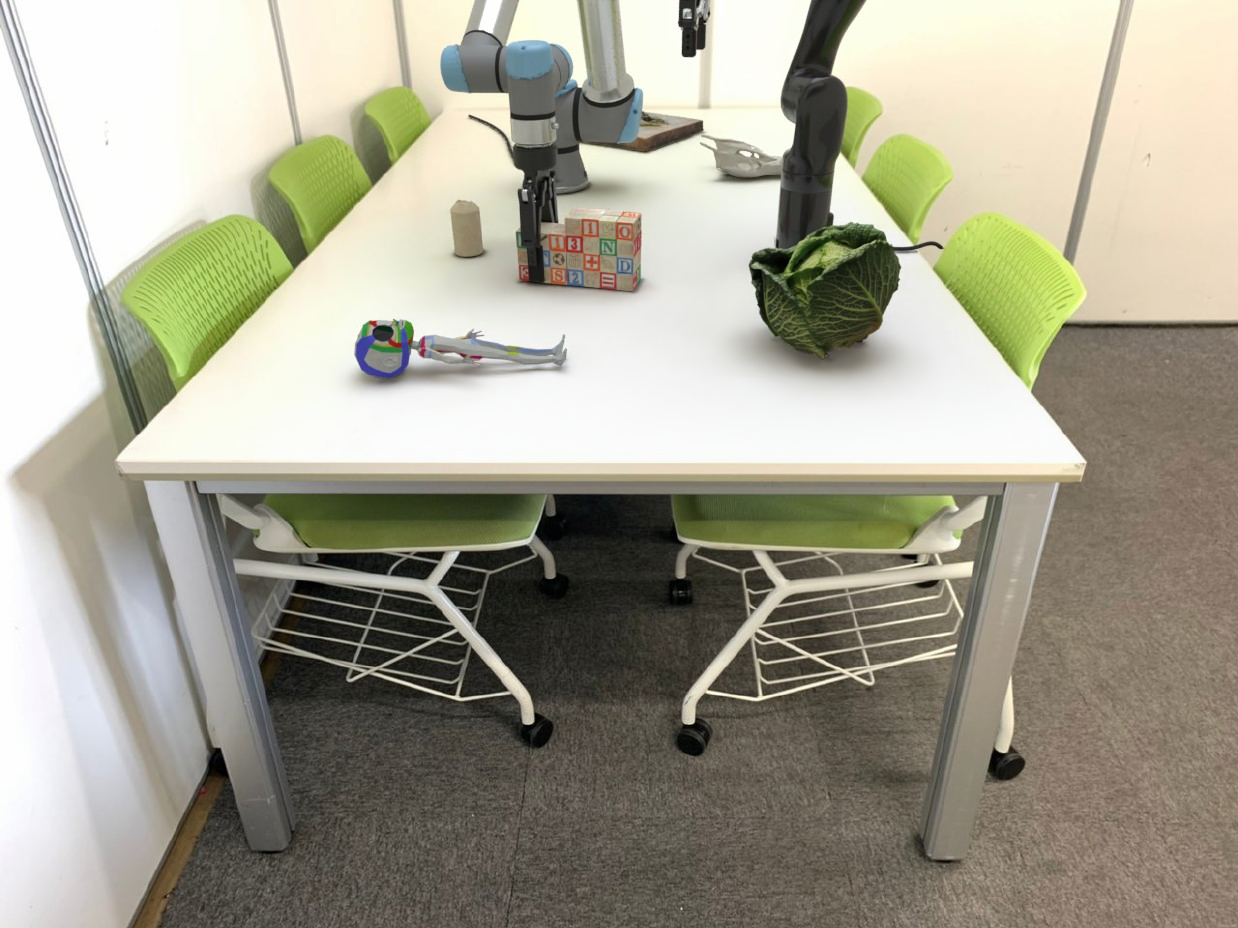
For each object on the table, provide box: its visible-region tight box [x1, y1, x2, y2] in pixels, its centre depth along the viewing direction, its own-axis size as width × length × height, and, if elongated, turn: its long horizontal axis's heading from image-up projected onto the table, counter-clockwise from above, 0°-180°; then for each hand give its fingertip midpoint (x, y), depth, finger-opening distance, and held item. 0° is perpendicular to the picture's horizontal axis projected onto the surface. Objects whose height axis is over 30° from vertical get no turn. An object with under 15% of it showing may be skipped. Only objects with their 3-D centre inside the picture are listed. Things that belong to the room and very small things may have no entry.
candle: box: [449, 199, 484, 258], centre depth 172 cm, size 6×6×10 cm
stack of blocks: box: [515, 207, 643, 292], centre depth 158 cm, size 21×6×12 cm, turn 76°
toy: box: [353, 318, 568, 379], centre depth 130 cm, size 10×8×30 cm
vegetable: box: [748, 221, 902, 360], centre depth 132 cm, size 20×19×20 cm
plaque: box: [584, 110, 705, 152], centre depth 257 cm, size 30×7×30 cm
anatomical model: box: [699, 133, 783, 178], centre depth 218 cm, size 15×9×25 cm
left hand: (543, 274), depth 163 cm, fingers closed on stack of blocks, 6 cm apart
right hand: (693, 53), depth 143 cm, fingers open, 8 cm apart
